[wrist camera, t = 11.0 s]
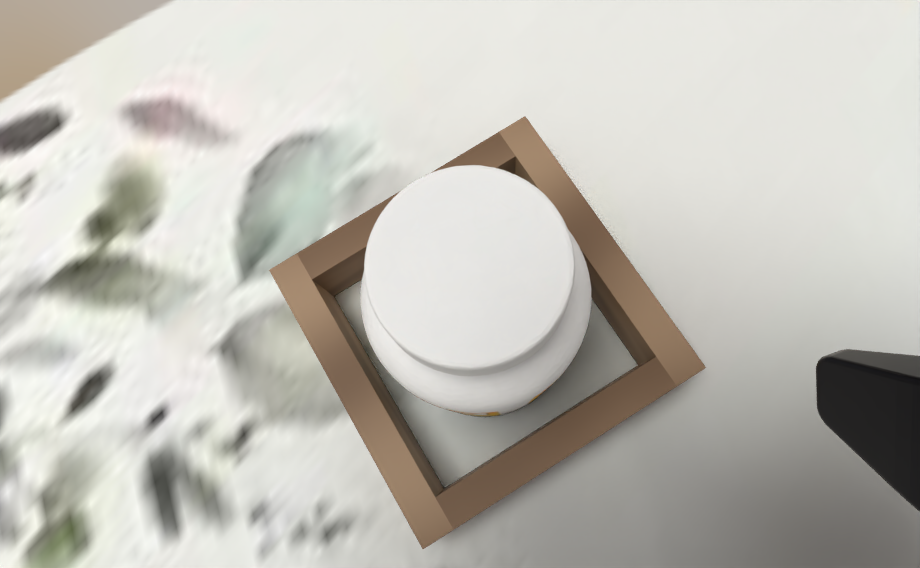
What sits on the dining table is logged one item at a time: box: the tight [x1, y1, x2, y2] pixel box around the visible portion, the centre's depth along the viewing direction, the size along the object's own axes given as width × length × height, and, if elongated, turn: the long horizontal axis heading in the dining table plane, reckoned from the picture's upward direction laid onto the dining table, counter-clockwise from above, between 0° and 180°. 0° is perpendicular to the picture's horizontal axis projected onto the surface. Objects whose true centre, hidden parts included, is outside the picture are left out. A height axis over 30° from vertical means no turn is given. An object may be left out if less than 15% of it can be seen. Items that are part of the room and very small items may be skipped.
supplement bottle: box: [360, 165, 592, 417], centre depth 16 cm, size 5×5×10 cm
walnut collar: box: [269, 117, 706, 549], centre depth 20 cm, size 10×10×2 cm
